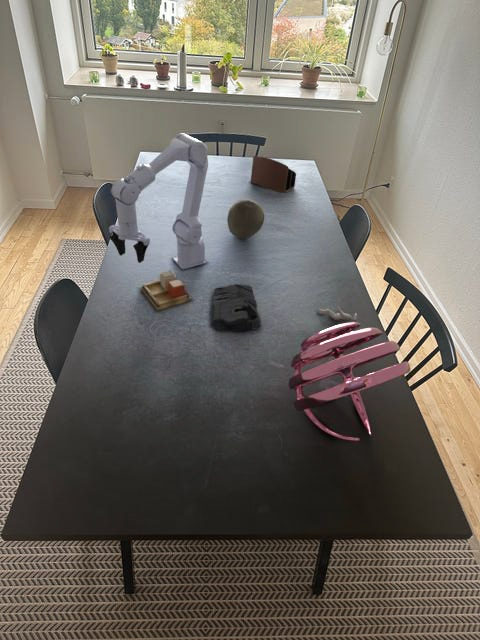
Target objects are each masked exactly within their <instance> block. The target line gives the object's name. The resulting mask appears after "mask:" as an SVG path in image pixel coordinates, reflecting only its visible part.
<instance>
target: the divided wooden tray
mask: <svg viewBox="0 0 480 640" xmlns="http://www.w3.org/2000/svg"><path fill="white" fill-rule="evenodd" d="M140 290H141V291H142V293H143V294H144V295H145V297H146V298H147V299H148V301H149V302H150V303H151V304H152V306H153V307H154V309H155V310H156V311H157V312H158V311H161V310H164V309H168V308H171V307H174V306H178V305H181V304H184V303H187V302H190V301H191V300H192V299H191V297H190V294H189V293H188V292H187V291H186V289H184V292H185V295H183V296H180V297H176V298H173V299H172V298H171V296H170V295H169V294H168V288H166V289H164V288H163V286H162V285H161V283H160V279H158V280H154V281H151V282H148V283H143V284H142V285H141V287H140Z"/></svg>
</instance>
